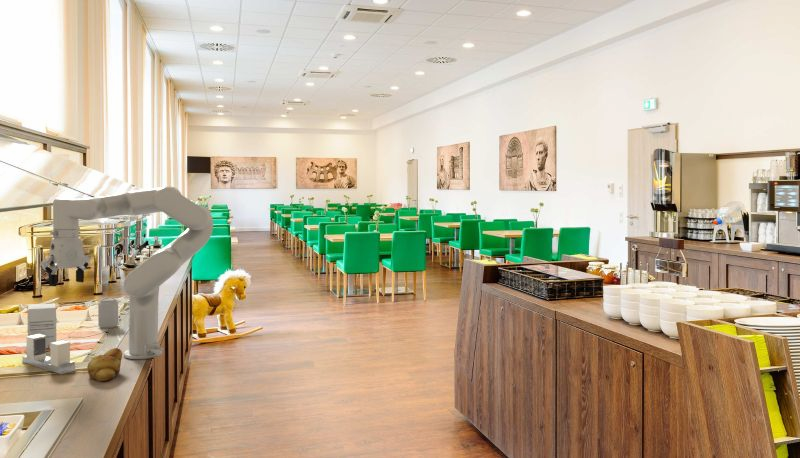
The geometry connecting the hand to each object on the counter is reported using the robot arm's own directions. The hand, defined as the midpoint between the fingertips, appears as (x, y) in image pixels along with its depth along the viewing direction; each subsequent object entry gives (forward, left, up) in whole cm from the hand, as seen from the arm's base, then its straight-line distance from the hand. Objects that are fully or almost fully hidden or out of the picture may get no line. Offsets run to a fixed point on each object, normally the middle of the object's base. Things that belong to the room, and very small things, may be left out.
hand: (66, 283), depth 200 cm
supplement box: (+20, -3, -26) cm, 33 cm away
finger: (-11, +9, -24) cm, 28 cm away
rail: (-5, +9, -26) cm, 28 cm away
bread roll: (-28, +5, -26) cm, 39 cm away
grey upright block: (+27, -34, -26) cm, 50 cm away
